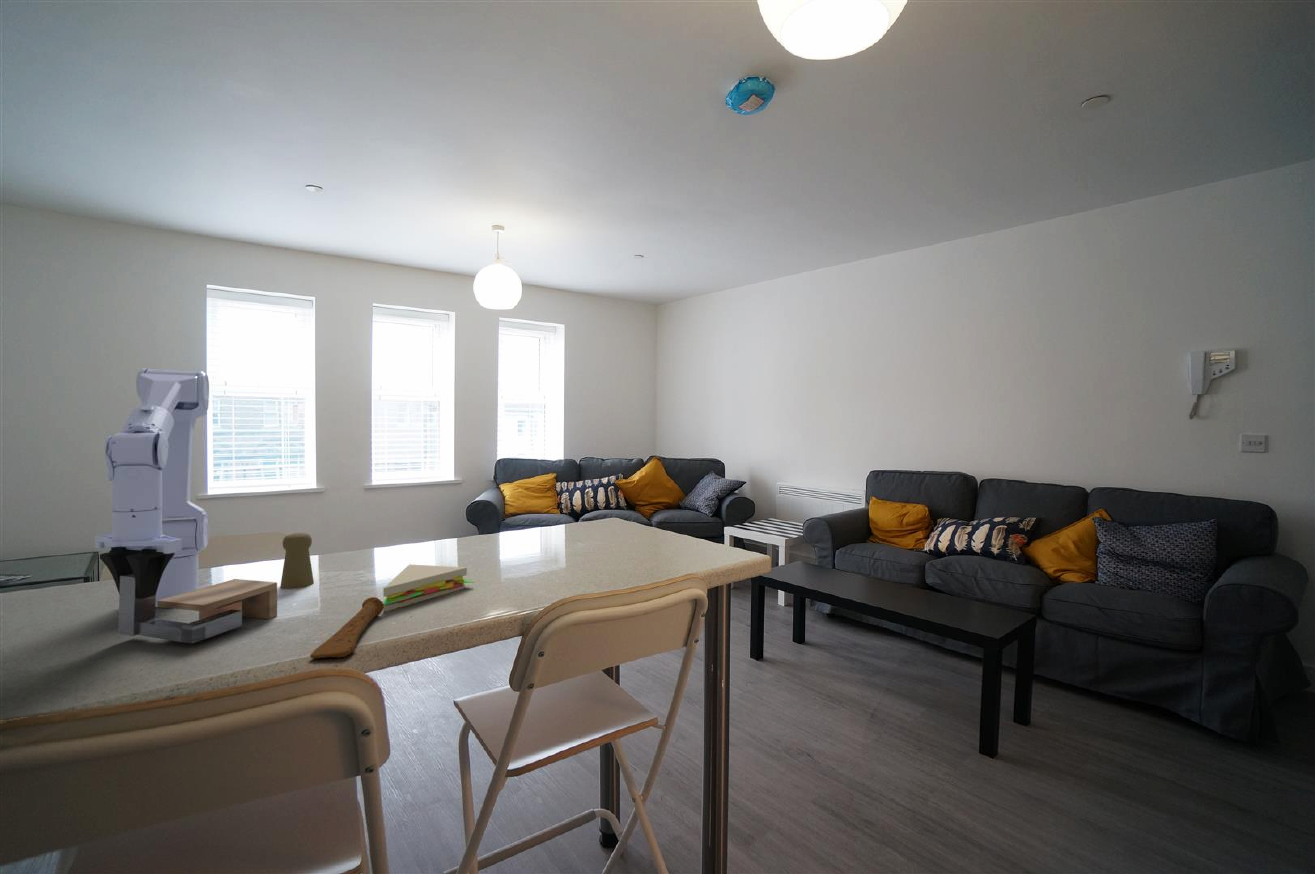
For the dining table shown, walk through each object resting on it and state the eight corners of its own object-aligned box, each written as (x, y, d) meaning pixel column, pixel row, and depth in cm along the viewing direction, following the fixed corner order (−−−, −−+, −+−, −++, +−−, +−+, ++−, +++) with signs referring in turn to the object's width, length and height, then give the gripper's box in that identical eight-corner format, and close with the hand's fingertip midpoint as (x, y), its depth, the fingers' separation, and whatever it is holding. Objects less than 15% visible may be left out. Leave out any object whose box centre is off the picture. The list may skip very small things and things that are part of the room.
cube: (199, 630, 92) (199, 606, 92) (222, 622, 96) (222, 599, 96) (218, 632, 91) (218, 608, 91) (241, 624, 95) (241, 601, 95)
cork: (290, 581, 121) (290, 531, 120) (319, 581, 121) (319, 531, 121) (273, 590, 115) (273, 536, 114) (304, 589, 115) (304, 536, 115)
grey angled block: (118, 633, 87) (120, 575, 86) (175, 616, 95) (177, 563, 95) (188, 644, 84) (190, 585, 84) (241, 625, 92) (243, 571, 92)
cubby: (157, 638, 88) (157, 600, 88) (235, 612, 101) (235, 578, 101) (203, 643, 87) (203, 605, 86) (277, 616, 99) (277, 582, 99)
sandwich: (340, 608, 106) (340, 581, 105) (421, 582, 123) (421, 559, 123) (400, 620, 99) (400, 592, 99) (476, 591, 117) (477, 567, 117)
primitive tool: (308, 655, 81) (311, 677, 82) (348, 652, 82) (350, 674, 82) (362, 596, 100) (364, 614, 100) (394, 594, 100) (396, 612, 101)
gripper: (70, 510, 85) (71, 600, 85) (146, 515, 82) (146, 607, 82) (123, 504, 92) (124, 587, 92) (195, 508, 89) (195, 593, 89)
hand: (138, 596), depth 88 cm, fingers closed on grey angled block, 3 cm apart
